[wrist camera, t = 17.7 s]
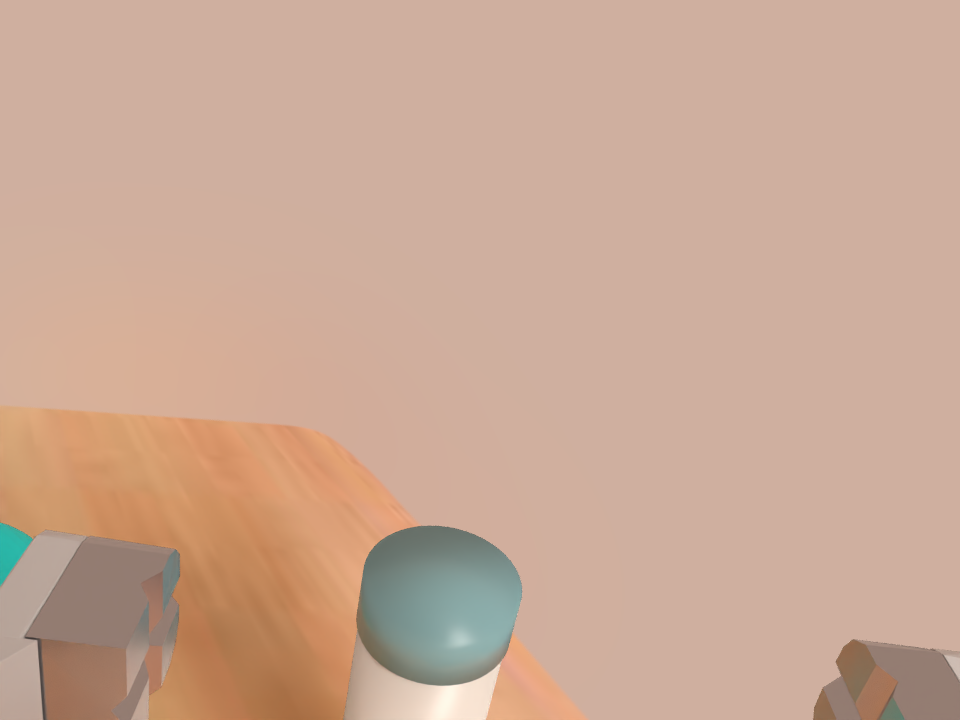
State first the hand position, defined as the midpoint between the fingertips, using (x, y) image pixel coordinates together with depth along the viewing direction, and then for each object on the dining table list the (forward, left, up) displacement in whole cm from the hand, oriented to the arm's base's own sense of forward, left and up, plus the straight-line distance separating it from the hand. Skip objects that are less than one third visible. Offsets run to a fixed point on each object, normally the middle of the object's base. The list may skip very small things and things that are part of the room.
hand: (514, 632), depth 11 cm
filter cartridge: (-5, +14, -30) cm, 33 cm away
